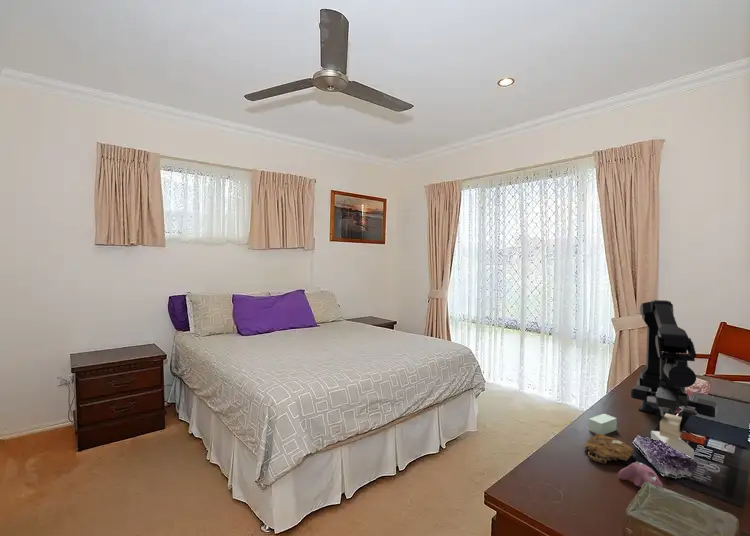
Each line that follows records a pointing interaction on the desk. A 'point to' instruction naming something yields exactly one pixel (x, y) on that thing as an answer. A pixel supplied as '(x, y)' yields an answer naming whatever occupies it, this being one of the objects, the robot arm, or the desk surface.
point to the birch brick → (670, 426)
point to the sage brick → (602, 424)
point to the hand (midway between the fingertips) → (671, 428)
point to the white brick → (674, 443)
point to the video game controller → (639, 474)
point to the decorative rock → (607, 449)
